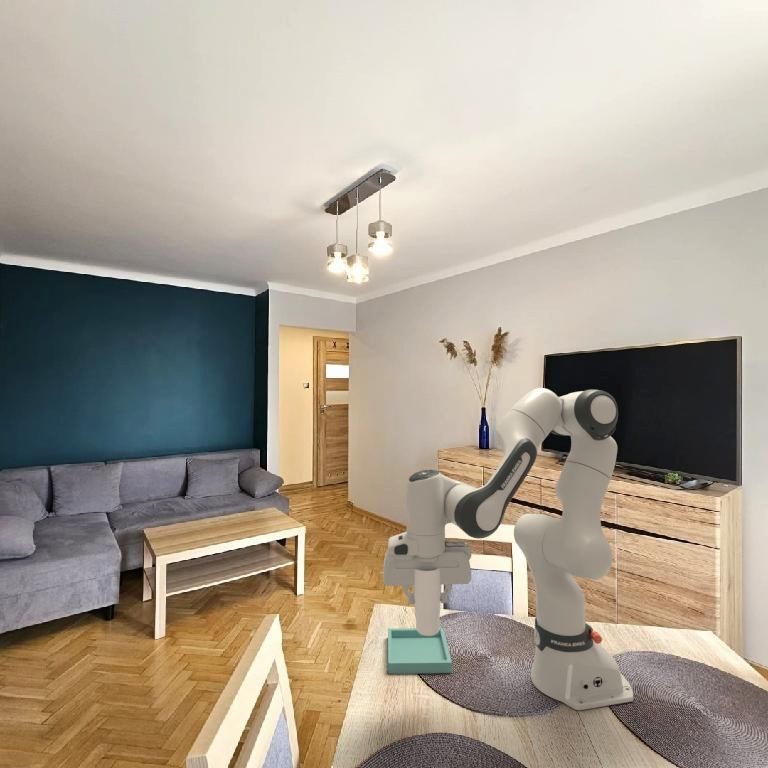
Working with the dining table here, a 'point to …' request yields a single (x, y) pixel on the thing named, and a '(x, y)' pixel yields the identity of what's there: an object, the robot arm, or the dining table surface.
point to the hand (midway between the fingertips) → (427, 602)
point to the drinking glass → (427, 601)
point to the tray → (417, 652)
